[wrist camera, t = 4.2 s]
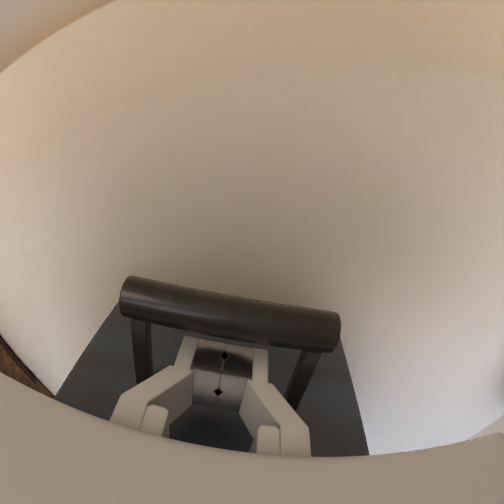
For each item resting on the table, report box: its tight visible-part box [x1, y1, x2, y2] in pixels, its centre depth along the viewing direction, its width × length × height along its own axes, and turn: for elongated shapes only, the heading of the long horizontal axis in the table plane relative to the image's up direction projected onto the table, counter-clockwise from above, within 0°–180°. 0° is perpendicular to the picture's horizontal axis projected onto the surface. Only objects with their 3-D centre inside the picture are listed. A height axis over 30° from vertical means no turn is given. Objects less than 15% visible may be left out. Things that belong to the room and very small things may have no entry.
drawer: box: [54, 276, 369, 457], centre depth 14 cm, size 20×13×9 cm, turn 170°
